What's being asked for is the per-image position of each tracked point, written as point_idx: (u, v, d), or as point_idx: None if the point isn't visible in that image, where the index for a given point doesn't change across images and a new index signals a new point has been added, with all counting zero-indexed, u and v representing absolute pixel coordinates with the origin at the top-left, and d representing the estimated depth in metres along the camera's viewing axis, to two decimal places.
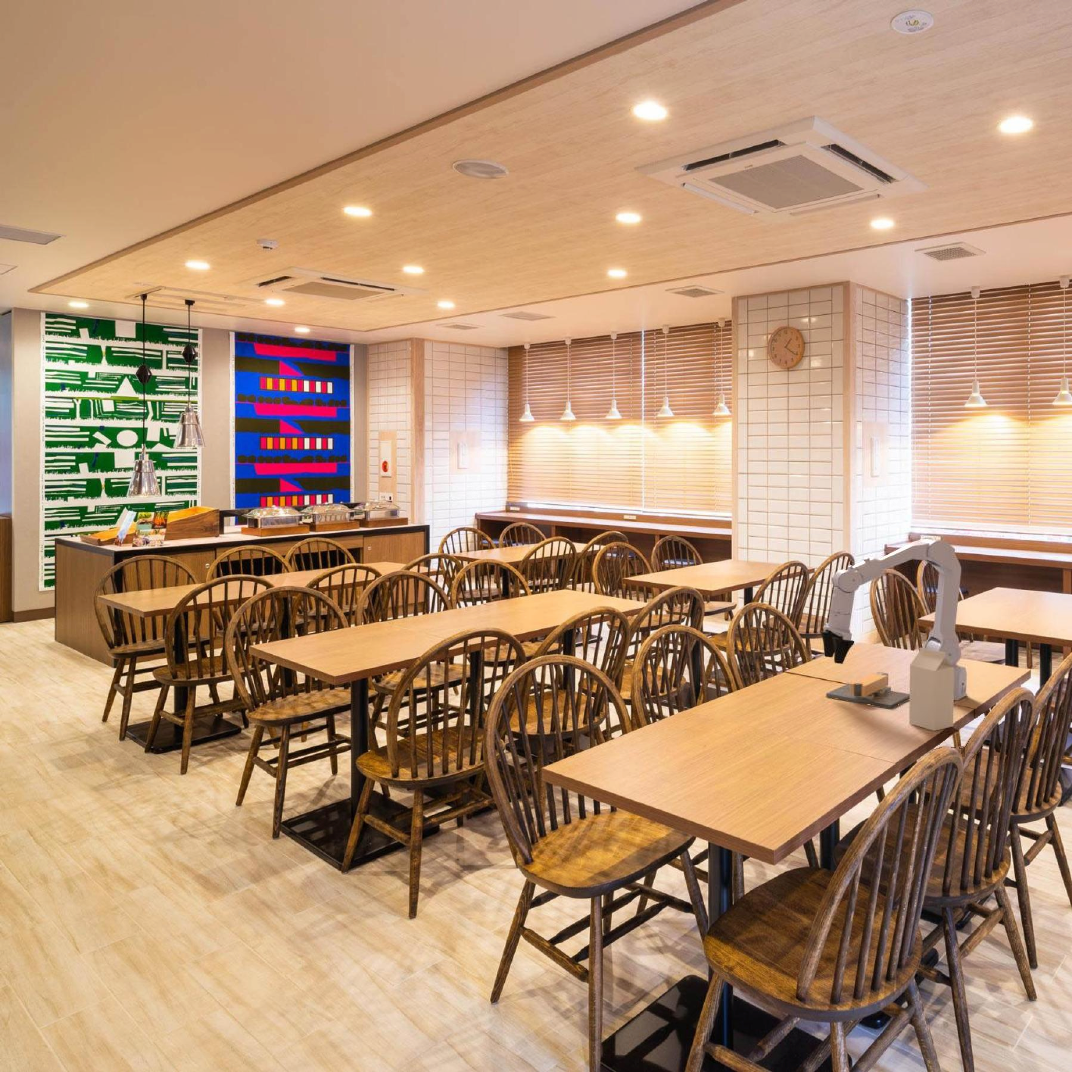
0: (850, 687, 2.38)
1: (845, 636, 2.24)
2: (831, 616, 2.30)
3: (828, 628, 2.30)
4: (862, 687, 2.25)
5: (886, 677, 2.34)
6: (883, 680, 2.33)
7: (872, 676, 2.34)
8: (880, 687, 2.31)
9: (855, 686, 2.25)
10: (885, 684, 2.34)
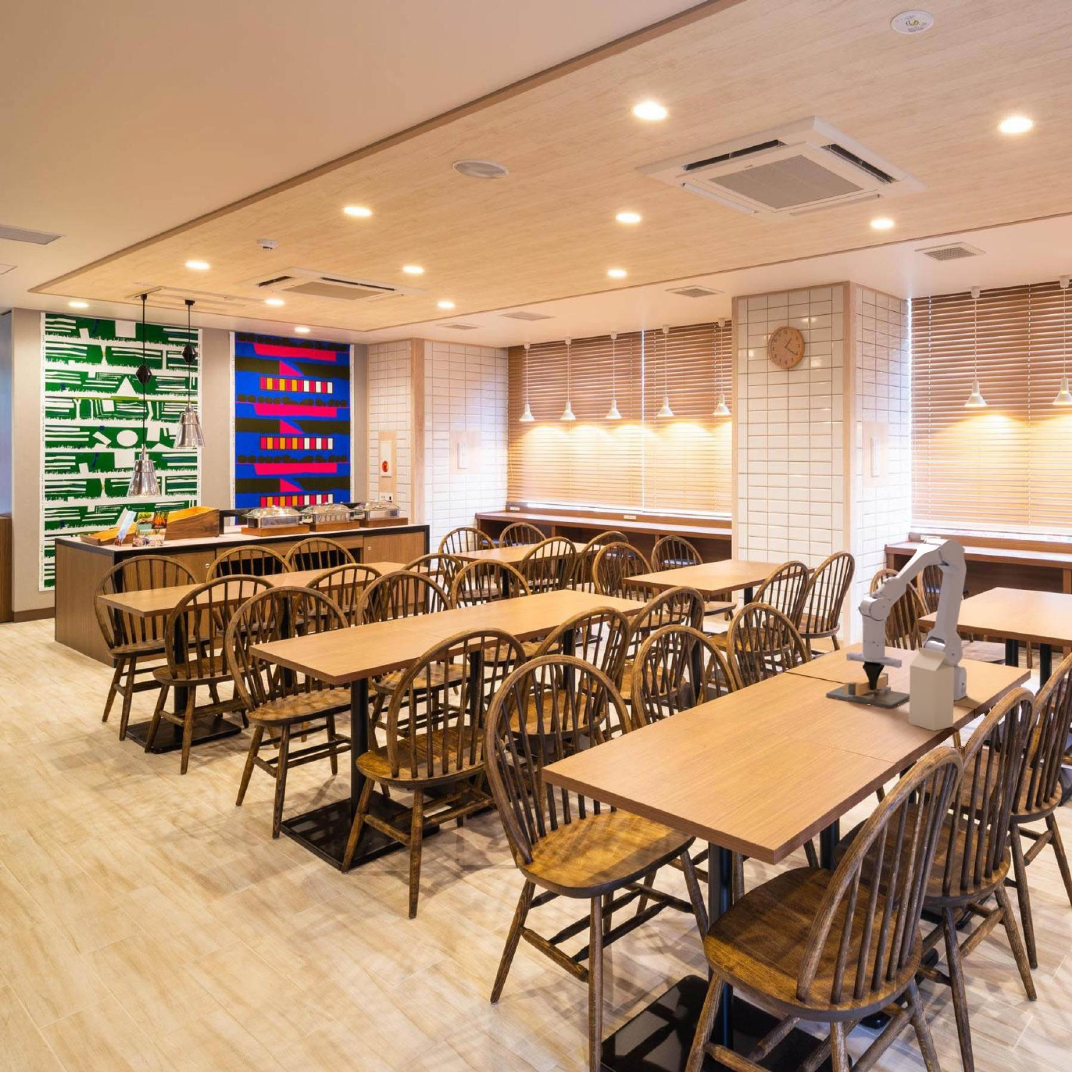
0: None
1: (899, 664, 2.22)
2: (872, 647, 2.25)
3: (872, 660, 2.25)
4: (856, 686, 2.26)
5: (885, 677, 2.34)
6: (881, 679, 2.33)
7: None
8: (877, 687, 2.32)
9: (849, 685, 2.27)
10: (884, 684, 2.34)
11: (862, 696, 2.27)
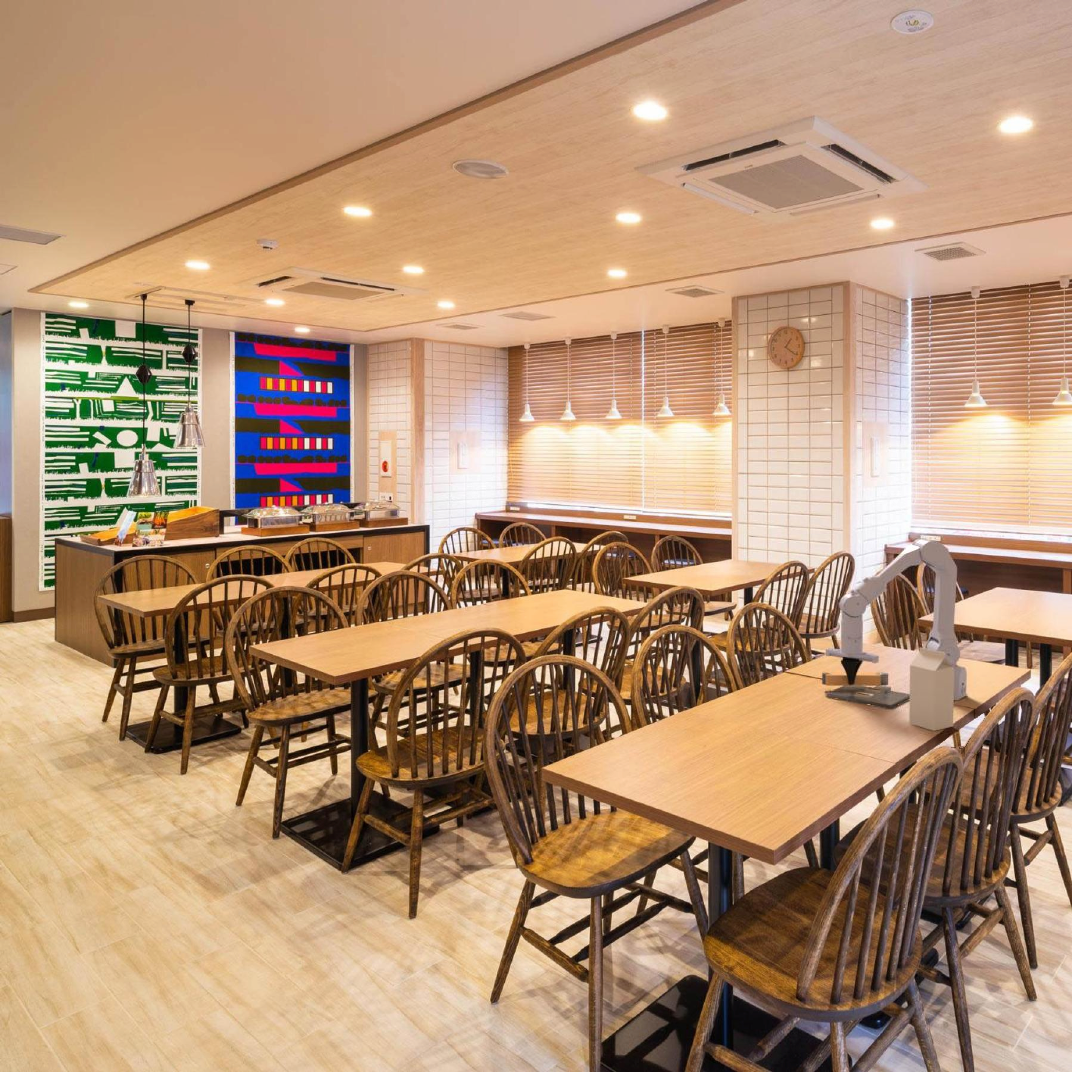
0: (850, 687, 2.38)
1: (876, 659, 2.28)
2: (850, 643, 2.31)
3: (850, 655, 2.31)
4: (825, 676, 2.37)
5: (877, 676, 2.35)
6: (870, 677, 2.35)
7: (864, 673, 2.38)
8: (862, 683, 2.36)
9: (822, 674, 2.39)
10: (875, 683, 2.35)
11: (862, 696, 2.27)
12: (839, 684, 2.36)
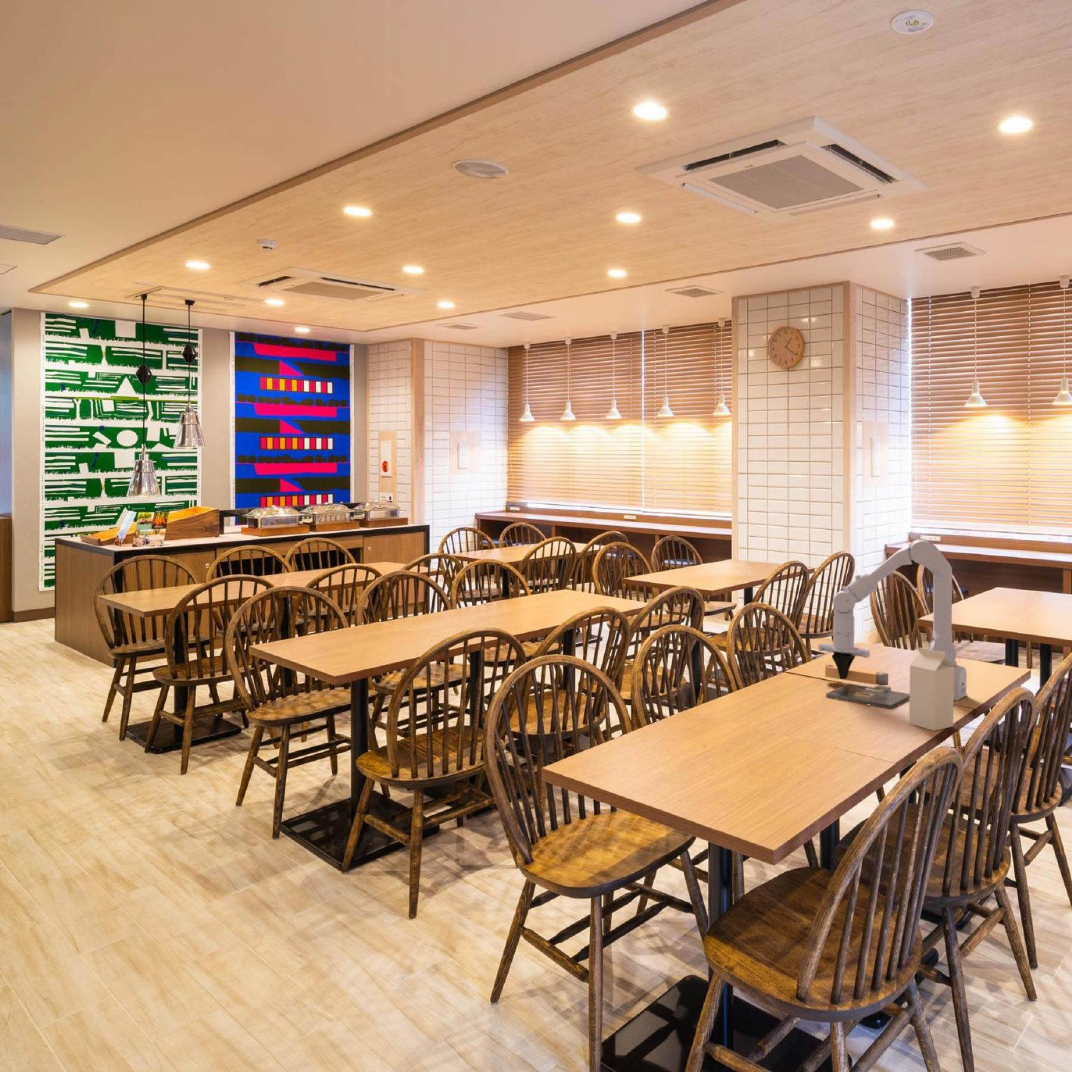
0: (850, 687, 2.38)
1: (867, 654, 2.35)
2: (841, 638, 2.38)
3: (842, 650, 2.37)
4: None
5: (872, 675, 2.37)
6: (865, 675, 2.38)
7: (866, 670, 2.41)
8: (858, 680, 2.40)
9: None
10: (870, 681, 2.37)
11: (862, 696, 2.27)
12: (837, 677, 2.44)
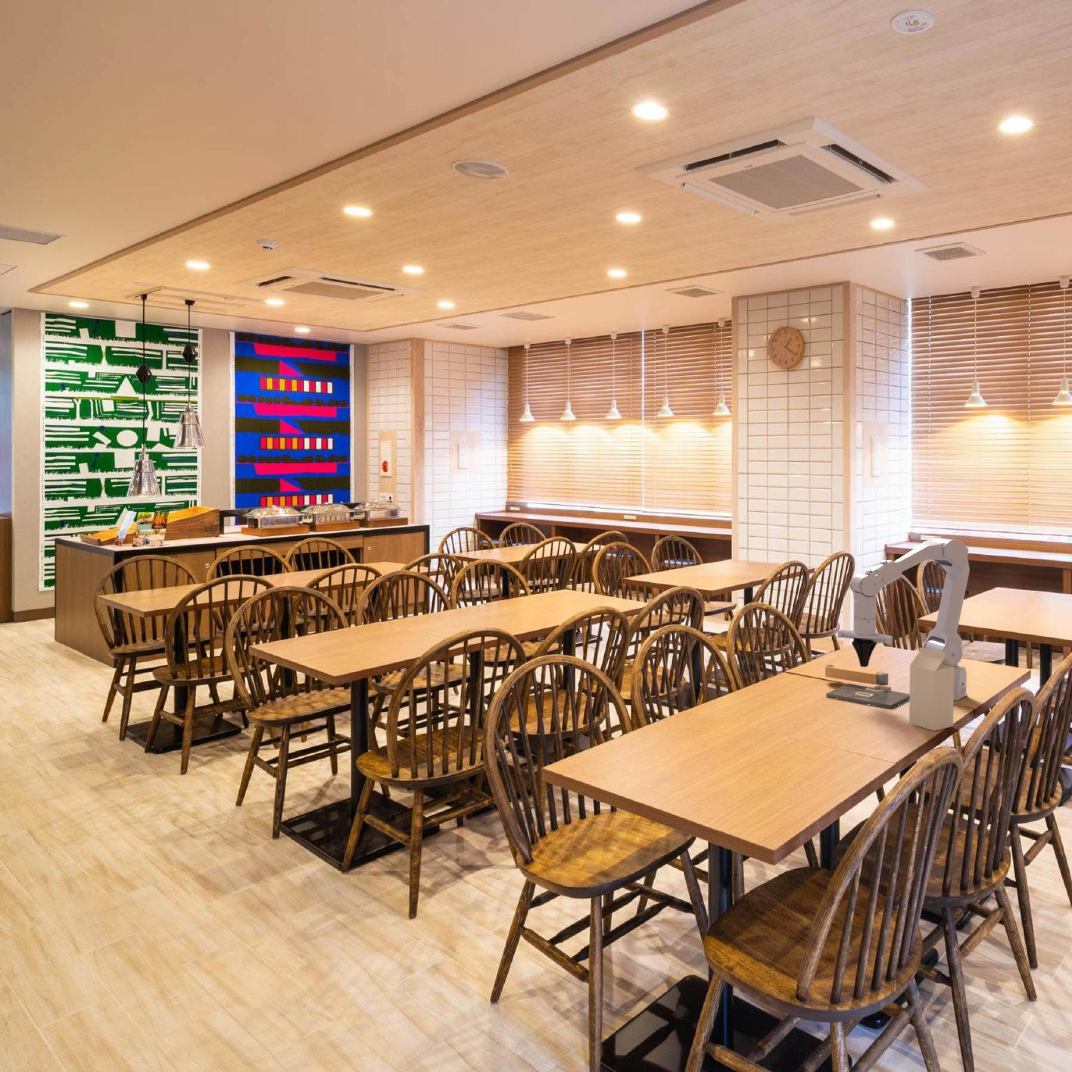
0: (850, 687, 2.38)
1: (889, 640, 2.22)
2: (863, 623, 2.25)
3: (863, 636, 2.24)
4: None
5: (872, 675, 2.37)
6: (865, 675, 2.38)
7: (866, 670, 2.41)
8: (858, 680, 2.40)
9: None
10: (870, 681, 2.37)
11: (862, 696, 2.27)
12: (837, 677, 2.44)
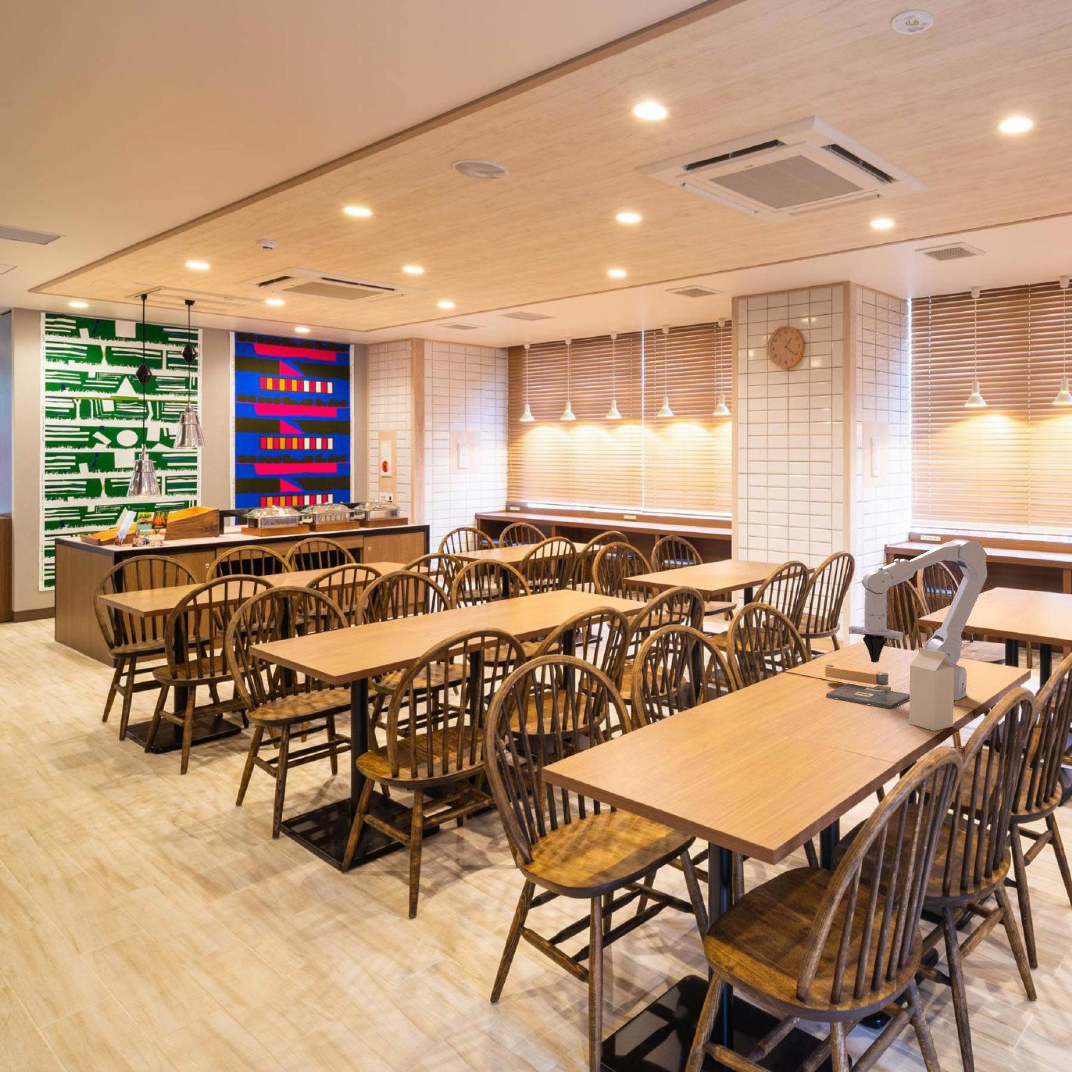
0: (850, 687, 2.38)
1: (900, 636, 2.27)
2: (873, 620, 2.30)
3: (874, 632, 2.29)
4: None
5: (872, 675, 2.37)
6: (865, 675, 2.38)
7: (866, 670, 2.41)
8: (858, 680, 2.40)
9: None
10: (870, 681, 2.37)
11: (862, 696, 2.27)
12: (837, 677, 2.44)
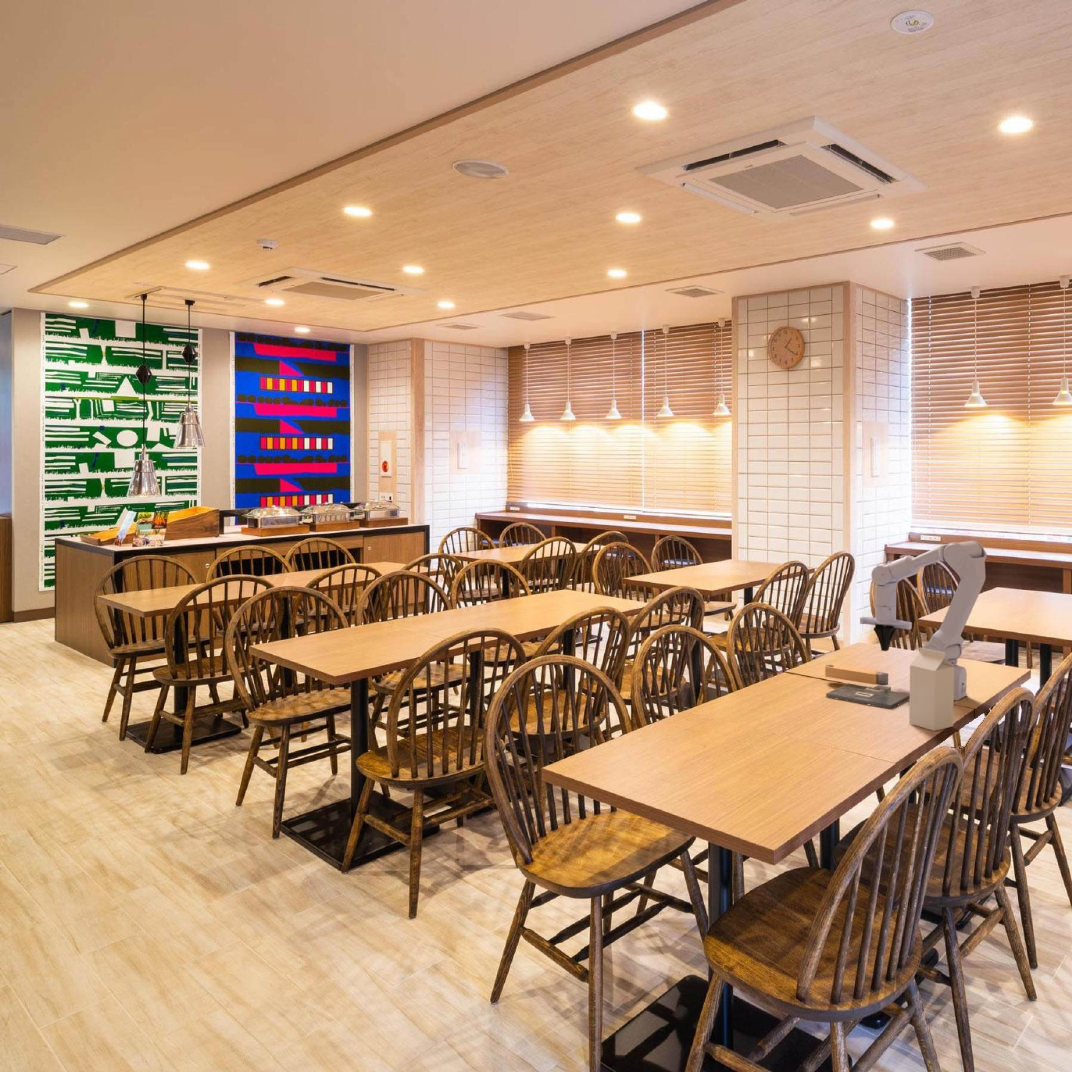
0: (850, 687, 2.38)
1: (909, 626, 2.40)
2: (884, 611, 2.43)
3: (884, 622, 2.43)
4: None
5: (872, 675, 2.37)
6: (865, 675, 2.38)
7: (866, 670, 2.41)
8: (858, 680, 2.40)
9: None
10: (870, 681, 2.37)
11: (862, 696, 2.27)
12: (837, 677, 2.44)
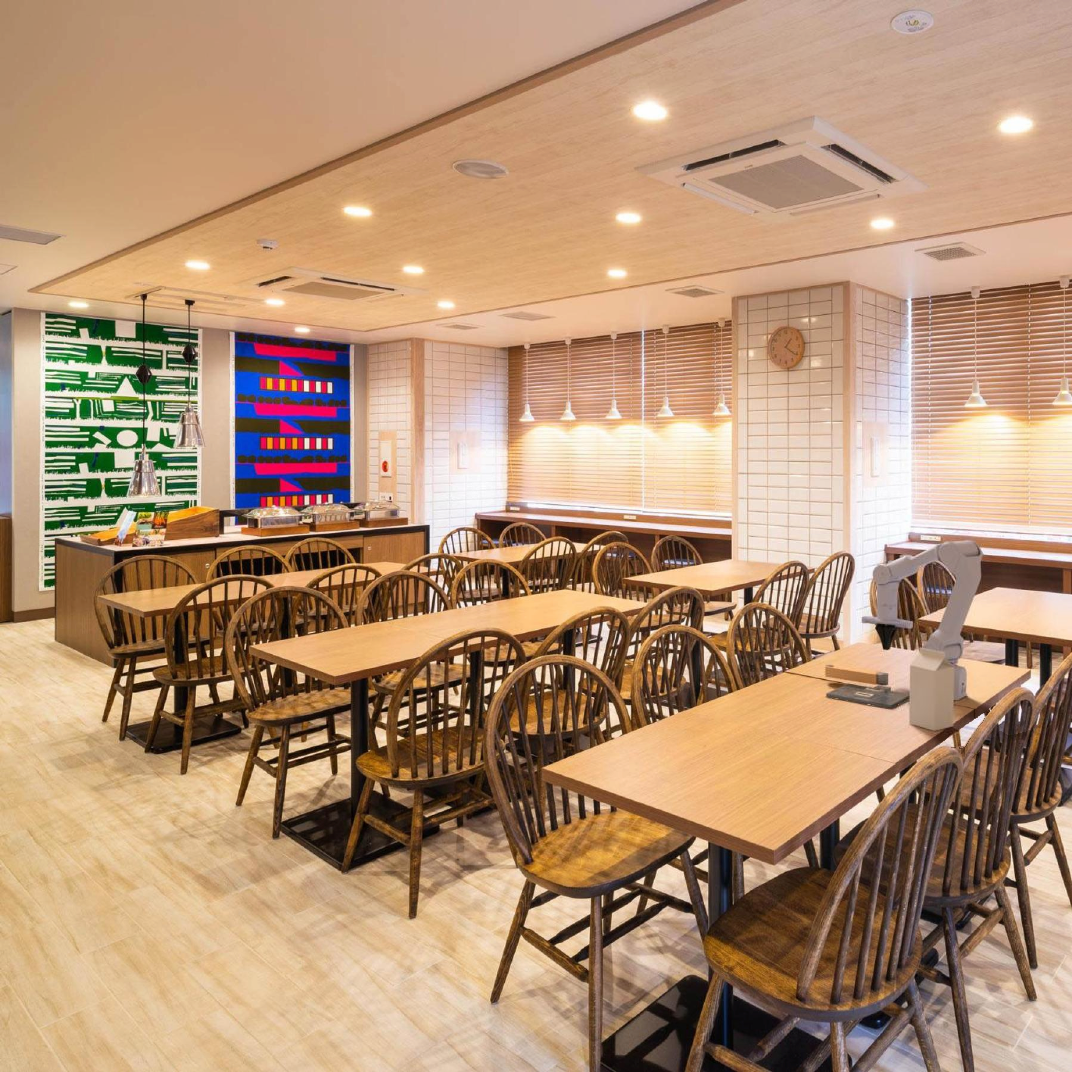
0: (850, 687, 2.38)
1: (910, 625, 2.42)
2: (885, 610, 2.45)
3: (886, 622, 2.44)
4: None
5: (872, 675, 2.37)
6: (865, 675, 2.38)
7: (866, 670, 2.41)
8: (858, 680, 2.40)
9: None
10: (870, 681, 2.37)
11: (862, 696, 2.27)
12: (837, 677, 2.44)
